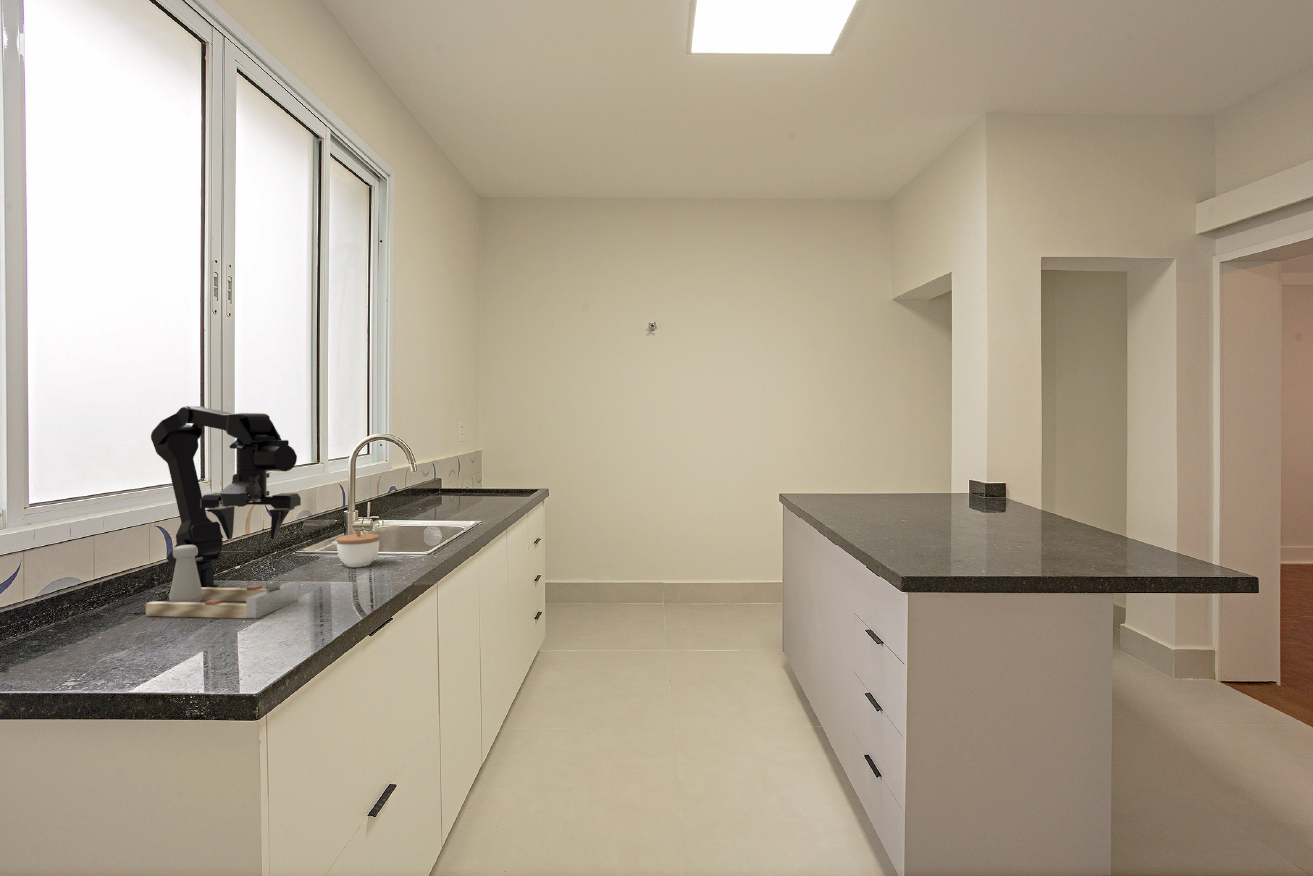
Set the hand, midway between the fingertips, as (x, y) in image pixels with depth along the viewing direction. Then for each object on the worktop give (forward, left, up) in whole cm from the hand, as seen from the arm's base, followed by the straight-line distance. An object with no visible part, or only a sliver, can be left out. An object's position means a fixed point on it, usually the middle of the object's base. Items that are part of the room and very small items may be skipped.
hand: (251, 539), depth 144 cm
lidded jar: (+6, +33, -13) cm, 36 cm away
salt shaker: (-8, -9, -13) cm, 18 cm away
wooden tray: (0, -9, -13) cm, 16 cm away
